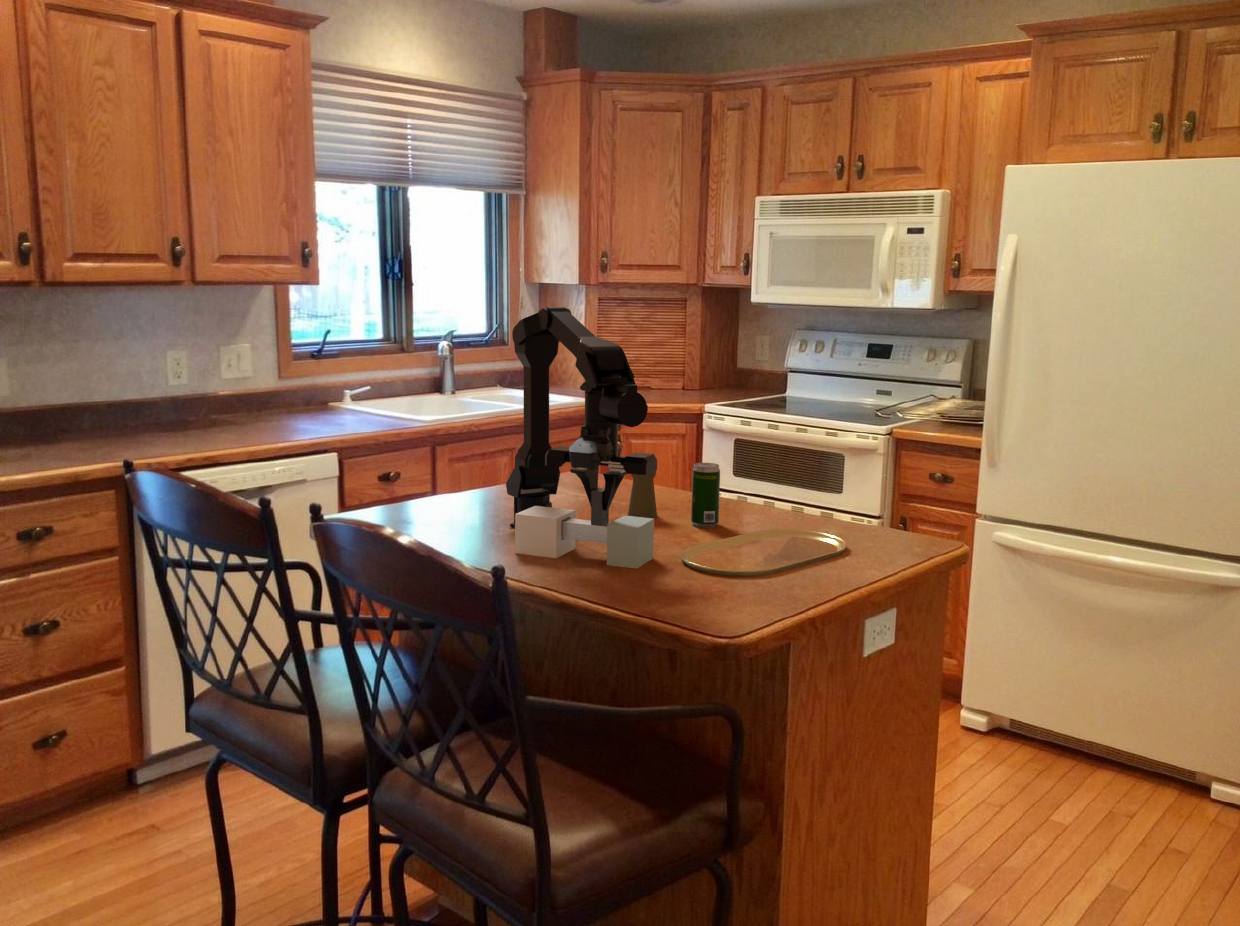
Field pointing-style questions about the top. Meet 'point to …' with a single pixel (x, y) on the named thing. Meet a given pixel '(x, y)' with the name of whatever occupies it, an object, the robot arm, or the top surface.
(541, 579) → the top surface
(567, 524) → the grey bridging bar
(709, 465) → the beer can
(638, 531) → the socket block
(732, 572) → the serving platter
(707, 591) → the top surface
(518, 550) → the sleeve
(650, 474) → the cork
